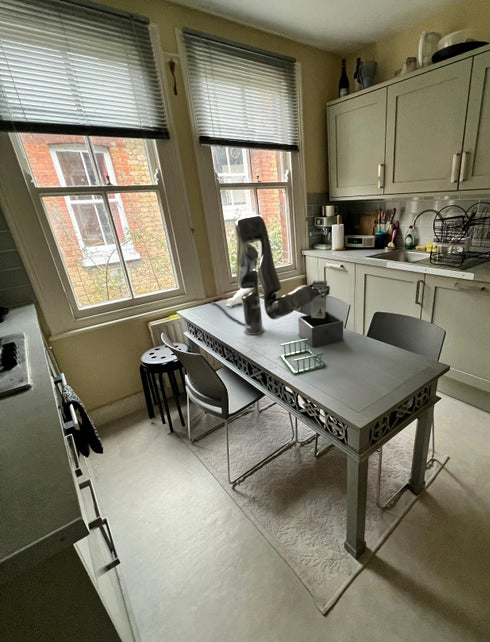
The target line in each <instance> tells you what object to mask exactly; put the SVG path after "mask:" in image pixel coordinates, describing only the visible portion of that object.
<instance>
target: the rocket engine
mask: <svg viewBox="0 0 490 642" xmlns="http://www.w3.org/2000/svg"><path fill="white" fill-rule="evenodd" d="M249 291H251V288H248V289H240V288H239V290H238V291H237V292H236V293H235V294H234V295H233V297H231V298H230V297H229V298H228V299H227V301H226V304H225V306H226V307H230V308H233V307H234V306H233V304H242V296H243V295H244V294H246V293H248V292H249Z"/></svg>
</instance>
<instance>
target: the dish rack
mask: <svg viewBox="0 0 490 642" xmlns="http://www.w3.org/2000/svg"><path fill="white" fill-rule="evenodd" d="M307 340H308V339H303V338H302V339H299V340H295V341H294V340H293V341H290V342H286V343H281V344H280V346H281V347H283V354H281V355H280V358H281V359H282V360H283V362H284V363H285V365H286V366H287V367H288V369H289V370H290V371H291V372H292V374H293V375H299V374H302V373H306V372H309V371H313V370H318V369H322V368H325V367H326V364H325V363H324V362H323V361H322V356H324V355H325V353H324V352H322V353H317V354H315V353H314V352H313V351H311V349H310V348H308V349H307V342H306V341H307ZM302 342H304V349H303V350H302ZM297 343H298V345H299V351H297V346H296V344H297ZM292 344H293V346H294V352H292V349H291V345H292ZM286 346H288V350H289V353H287V352H286ZM303 353H309V354H310V355H309V356H304V357H300V358H296V359H293V362H294V363H296V365H297V370H295V369H294V368H293V366H292V365H291V364H290V363H289V361H288V360H287V359H286V357H291V356H295V355H299V354H303ZM311 358H312V359H313V363H314V364H313V365H314V366H311ZM305 360H308V368H306V365H305V364H306V363H305ZM300 361H302V368H303V369H300ZM317 362H318V363H319V365H317Z"/></svg>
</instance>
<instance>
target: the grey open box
mask: <svg viewBox="0 0 490 642" xmlns="http://www.w3.org/2000/svg"><path fill="white" fill-rule="evenodd" d="M297 318H298V320H297V321H298V335H299V336H300V337H301V338H302V340H303V339H308V340H307V341H306V344H308V345H309V346H310V347H312V348H315V347H320V346H324V345H329V344H333V343H336V342H337V343H338V342H342V341H344V321H343V320H342V319H341V318H339V317H337V316H336V315H334V313H331V312H330V311H328V310H326V312H325V318H311V313H310V314H306V315H300V316H298V317H297Z"/></svg>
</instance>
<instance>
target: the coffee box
mask: <svg viewBox="0 0 490 642" xmlns="http://www.w3.org/2000/svg"><path fill="white" fill-rule="evenodd" d="M311 284H312V288H313V287H315V288H317V287H321V288H324V287H326V286H328V280H313V281H312V283H311ZM318 291H319V289H318ZM322 291H323V290H322ZM326 311H327V296H325V297H321V295H320V296H316V297H315V298H314V299H313V301H311V310H310V312H311V313H310V314H311V318H325V312H326Z"/></svg>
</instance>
